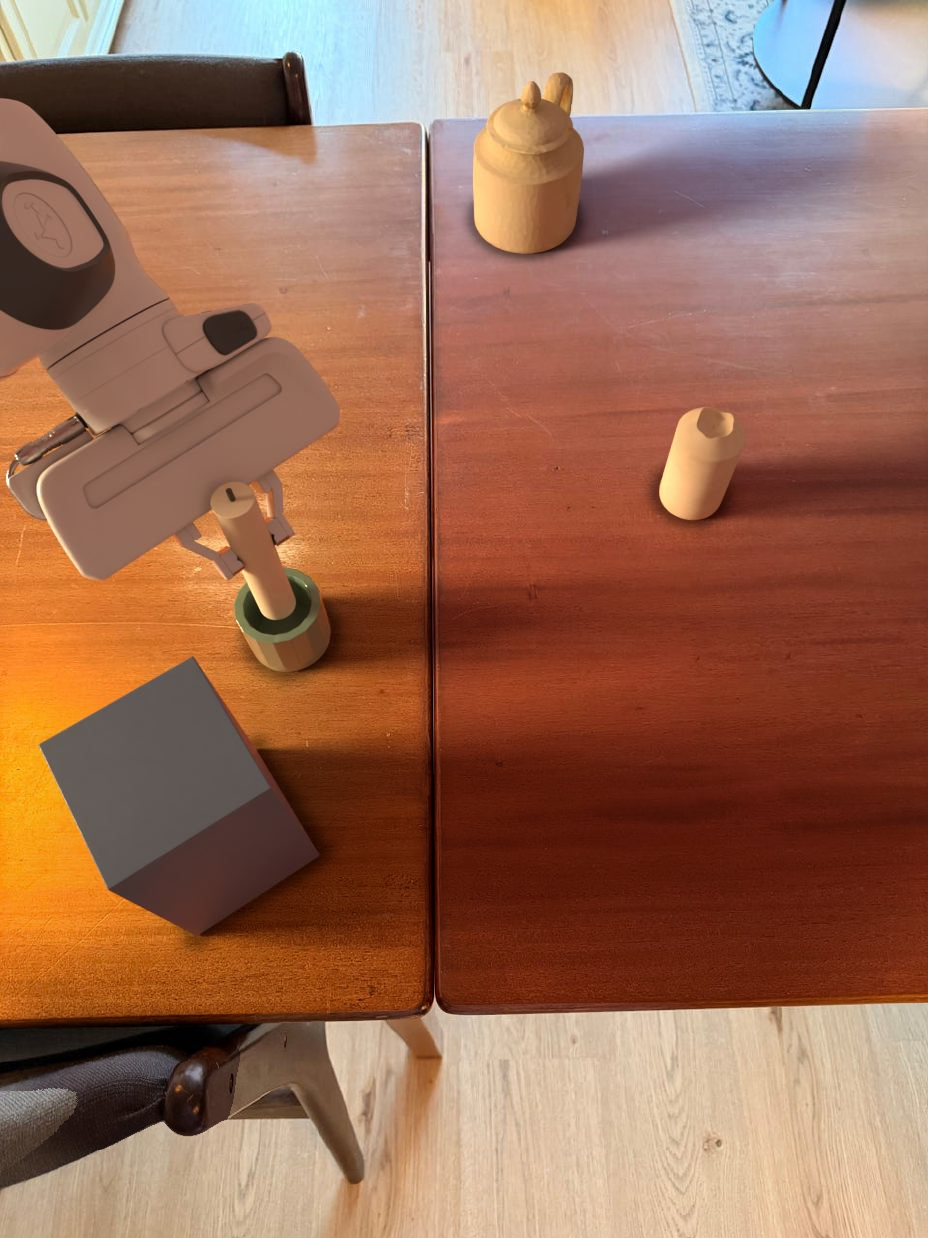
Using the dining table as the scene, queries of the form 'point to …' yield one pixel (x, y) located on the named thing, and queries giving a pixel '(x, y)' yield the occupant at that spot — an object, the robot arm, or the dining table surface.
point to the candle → (701, 462)
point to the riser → (177, 801)
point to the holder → (286, 626)
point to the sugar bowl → (529, 170)
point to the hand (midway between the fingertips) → (260, 556)
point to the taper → (253, 548)
